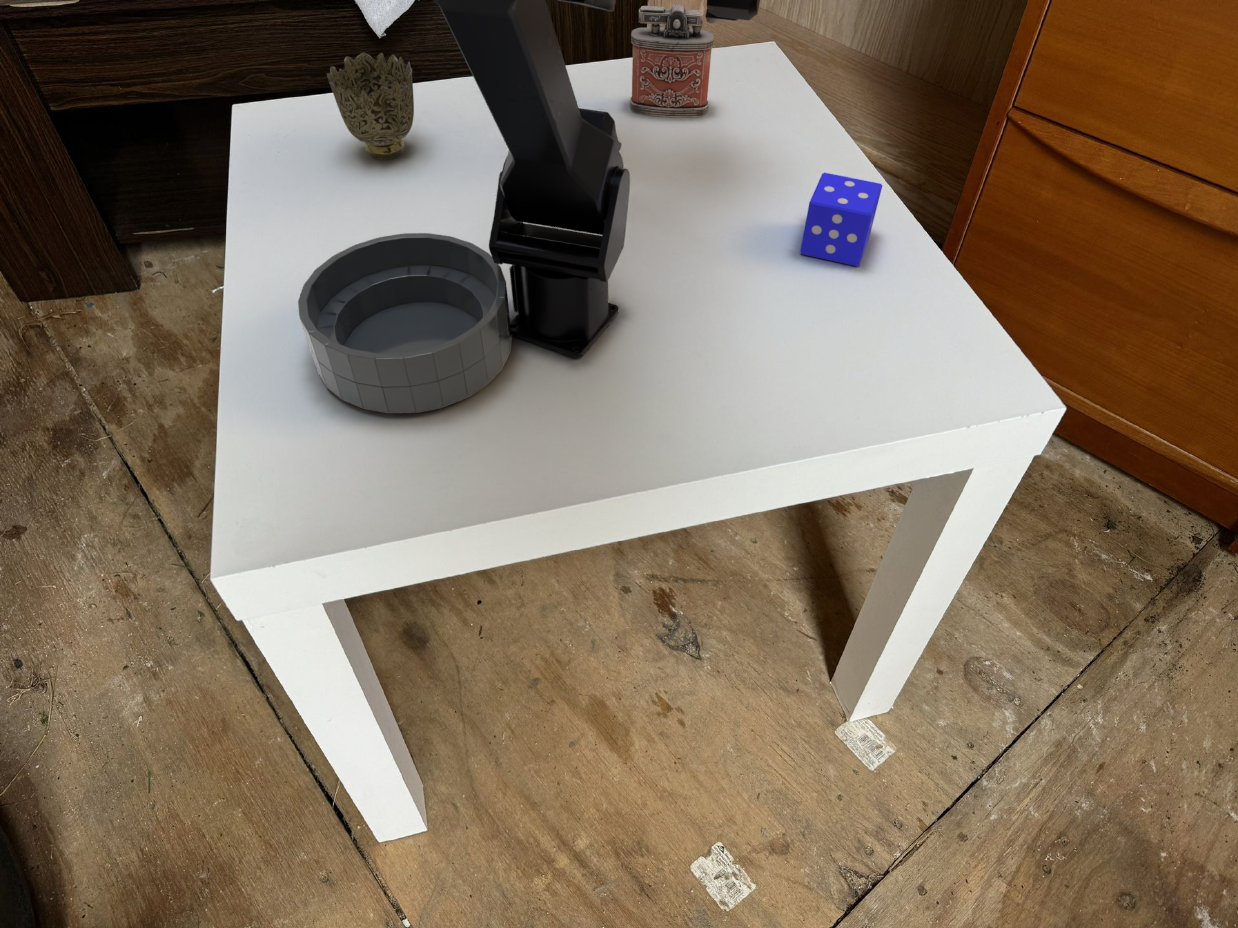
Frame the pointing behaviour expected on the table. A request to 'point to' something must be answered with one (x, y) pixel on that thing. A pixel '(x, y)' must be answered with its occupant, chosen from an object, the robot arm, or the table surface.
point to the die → (840, 218)
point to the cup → (375, 101)
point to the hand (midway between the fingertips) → (662, 11)
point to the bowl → (407, 322)
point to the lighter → (671, 63)
